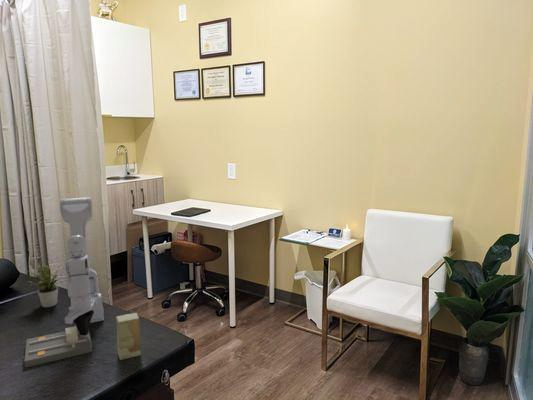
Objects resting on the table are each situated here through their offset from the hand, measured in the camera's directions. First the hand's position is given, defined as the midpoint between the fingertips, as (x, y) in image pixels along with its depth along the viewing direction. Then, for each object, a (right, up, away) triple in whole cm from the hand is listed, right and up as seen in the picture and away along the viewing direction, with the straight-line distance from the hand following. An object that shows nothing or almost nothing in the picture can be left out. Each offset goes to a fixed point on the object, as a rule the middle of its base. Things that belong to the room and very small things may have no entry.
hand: (84, 334), depth 131 cm
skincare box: (+17, -4, -6) cm, 18 cm away
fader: (-3, -1, -1) cm, 4 cm away
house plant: (-28, +2, +29) cm, 40 cm away
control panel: (-7, -4, -3) cm, 8 cm away
